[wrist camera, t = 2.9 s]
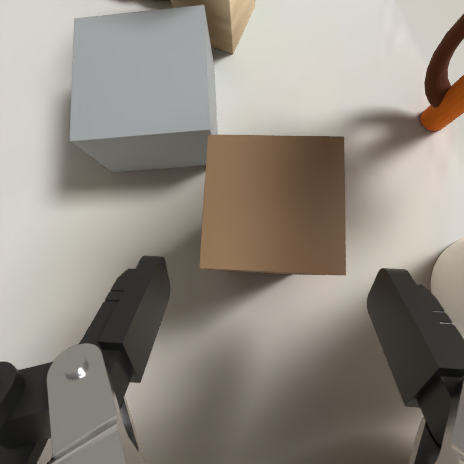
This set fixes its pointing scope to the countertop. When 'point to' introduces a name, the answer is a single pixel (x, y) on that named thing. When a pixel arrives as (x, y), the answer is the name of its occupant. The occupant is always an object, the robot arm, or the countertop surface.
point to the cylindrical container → (450, 283)
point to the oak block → (223, 20)
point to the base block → (143, 89)
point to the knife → (444, 83)
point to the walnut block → (274, 205)
